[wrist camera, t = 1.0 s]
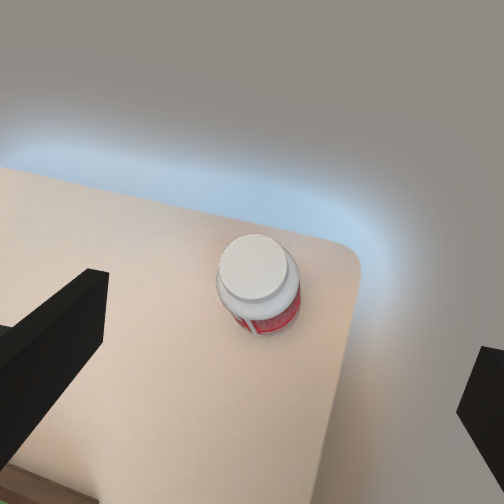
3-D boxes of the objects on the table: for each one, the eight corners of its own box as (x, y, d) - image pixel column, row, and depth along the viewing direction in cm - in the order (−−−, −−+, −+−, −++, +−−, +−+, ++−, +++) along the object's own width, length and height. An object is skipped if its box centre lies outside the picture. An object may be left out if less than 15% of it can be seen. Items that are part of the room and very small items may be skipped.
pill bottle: (308, 281, 40) (310, 235, 30) (289, 346, 38) (283, 322, 28) (244, 263, 41) (224, 213, 31) (222, 325, 40) (194, 295, 29)
